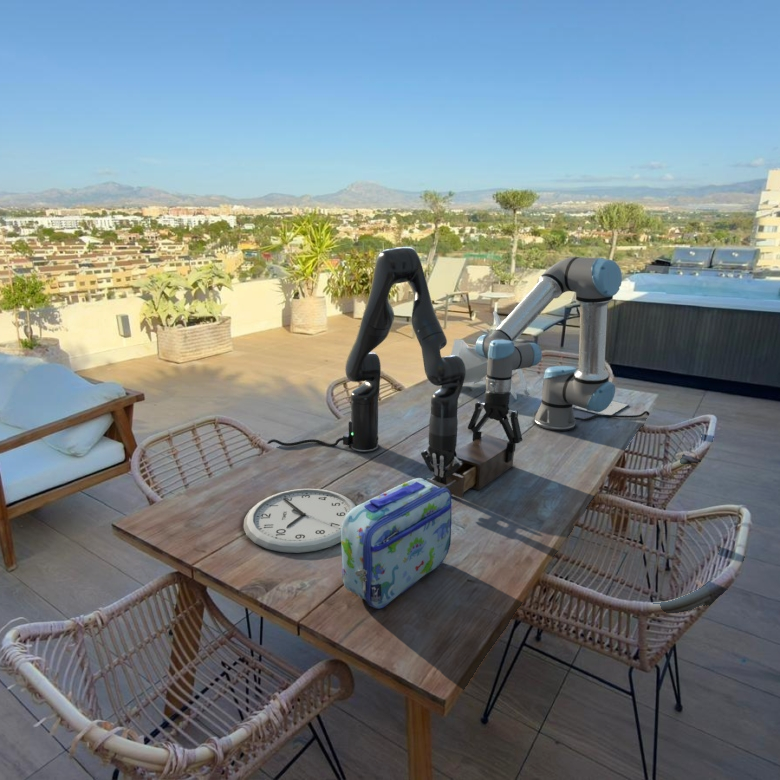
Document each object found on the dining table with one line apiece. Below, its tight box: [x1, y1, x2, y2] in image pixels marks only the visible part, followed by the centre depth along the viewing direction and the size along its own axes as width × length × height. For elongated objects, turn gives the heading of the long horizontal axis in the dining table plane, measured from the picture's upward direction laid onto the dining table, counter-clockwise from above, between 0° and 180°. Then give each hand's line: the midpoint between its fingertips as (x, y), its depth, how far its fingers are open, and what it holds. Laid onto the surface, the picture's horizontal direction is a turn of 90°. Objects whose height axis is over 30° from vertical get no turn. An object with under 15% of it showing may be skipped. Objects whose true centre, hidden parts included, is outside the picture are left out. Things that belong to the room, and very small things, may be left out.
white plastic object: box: [450, 310, 531, 400], centre depth 245 cm, size 37×45×31 cm
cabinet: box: [455, 433, 515, 491], centre depth 162 cm, size 22×11×8 cm, turn 140°
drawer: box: [425, 461, 477, 499], centre depth 153 cm, size 26×10×6 cm, turn 140°
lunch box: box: [340, 477, 452, 610], centre depth 110 cm, size 26×11×21 cm, turn 134°
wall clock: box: [243, 488, 357, 554], centre depth 136 cm, size 30×2×30 cm
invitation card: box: [573, 400, 629, 415], centre depth 226 cm, size 21×1×15 cm
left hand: (440, 487), depth 145 cm, fingers closed
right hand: (492, 456), depth 167 cm, fingers closed on cabinet, 11 cm apart
